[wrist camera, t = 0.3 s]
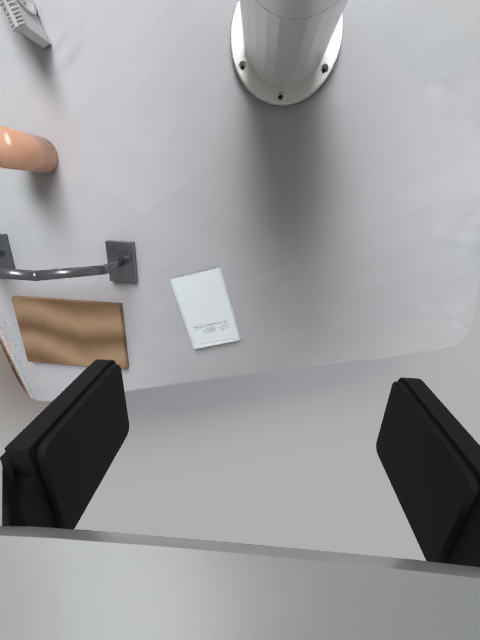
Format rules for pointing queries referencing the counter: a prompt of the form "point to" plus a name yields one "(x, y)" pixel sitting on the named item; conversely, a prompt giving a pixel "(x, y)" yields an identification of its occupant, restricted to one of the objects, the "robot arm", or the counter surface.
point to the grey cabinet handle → (118, 267)
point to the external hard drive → (205, 307)
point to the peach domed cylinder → (26, 151)
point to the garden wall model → (25, 20)
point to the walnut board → (71, 330)
